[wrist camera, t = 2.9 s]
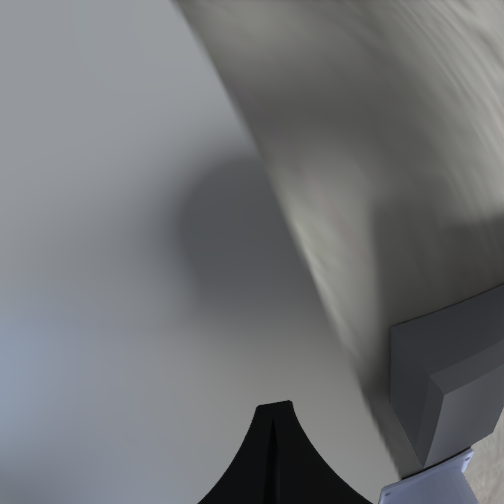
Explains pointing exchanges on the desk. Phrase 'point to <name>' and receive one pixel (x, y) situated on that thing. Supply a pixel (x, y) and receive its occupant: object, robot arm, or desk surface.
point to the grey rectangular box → (449, 375)
